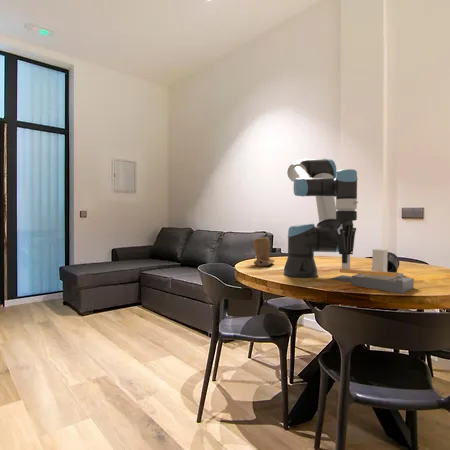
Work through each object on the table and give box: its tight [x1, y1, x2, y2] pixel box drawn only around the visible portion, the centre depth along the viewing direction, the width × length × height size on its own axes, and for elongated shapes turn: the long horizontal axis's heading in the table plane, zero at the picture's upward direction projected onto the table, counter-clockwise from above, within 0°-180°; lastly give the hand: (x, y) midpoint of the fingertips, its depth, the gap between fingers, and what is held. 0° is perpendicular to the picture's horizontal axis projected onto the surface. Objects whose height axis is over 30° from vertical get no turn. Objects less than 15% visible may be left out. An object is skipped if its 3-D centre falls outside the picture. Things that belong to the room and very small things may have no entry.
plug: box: [363, 248, 395, 280], centre depth 122 cm, size 9×9×14 cm
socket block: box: [351, 274, 415, 295], centre depth 121 cm, size 18×12×6 cm, turn 44°
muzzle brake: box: [387, 251, 400, 273], centre depth 140 cm, size 10×28×10 cm, turn 150°
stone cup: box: [252, 237, 275, 267], centre depth 175 cm, size 15×12×15 cm
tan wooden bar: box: [339, 268, 404, 277], centre depth 118 cm, size 21×2×1 cm, turn 64°
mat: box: [330, 274, 352, 283], centre depth 135 cm, size 11×11×1 cm
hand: (345, 271), depth 123 cm, fingers closed
